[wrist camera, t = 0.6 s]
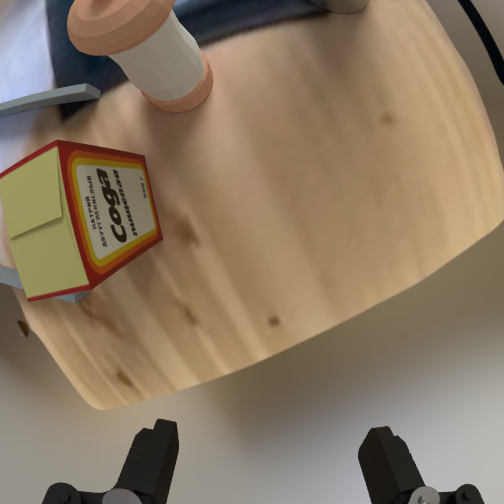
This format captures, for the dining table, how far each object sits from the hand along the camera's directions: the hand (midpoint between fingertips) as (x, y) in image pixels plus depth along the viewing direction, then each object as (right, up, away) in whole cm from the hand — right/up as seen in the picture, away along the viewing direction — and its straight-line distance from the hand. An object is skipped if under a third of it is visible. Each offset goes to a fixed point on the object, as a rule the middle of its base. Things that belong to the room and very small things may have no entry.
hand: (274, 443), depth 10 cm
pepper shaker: (-9, +26, +17) cm, 32 cm away
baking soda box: (-15, +13, +20) cm, 28 cm away
